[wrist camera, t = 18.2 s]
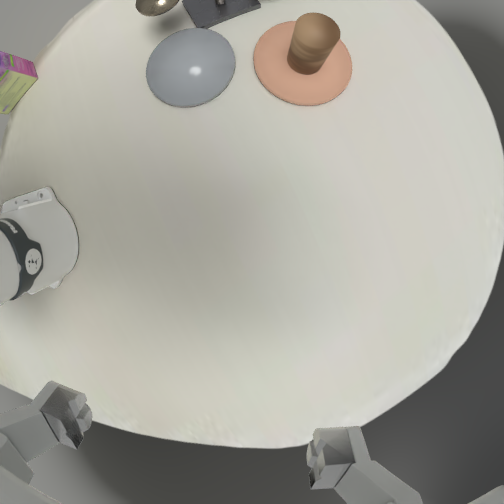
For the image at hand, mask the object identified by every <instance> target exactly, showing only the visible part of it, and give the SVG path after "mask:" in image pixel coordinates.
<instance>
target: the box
mask: <svg viewBox="0 0 504 504" xmlns="http://www.w3.org/2000/svg"><path fill="white" fill-rule="evenodd" d="M37 79H38V77H37V74H36V70H35V67H34V64H33V62H31V61H28V60H25V59H22V58H20V57H17V56H14V55H11V54H8V53H4V52H1V51H0V114H9V113H10V111H11V110H12V109H13V107H14V106H15V105H16V103H17V102H18V101H19V100H20V98H21V97H22V96H23V95H24V94H25V92H26V91H27V90H28V89H29V88H30V87H31V85H32V84H33V83H34V82H35V81H36V80H37Z"/></svg>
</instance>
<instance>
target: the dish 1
mask: <svg viewBox="0 0 504 504" xmlns="http://www.w3.org/2000/svg"><path fill="white" fill-rule="evenodd" d="M234 71H235V56H234V52H233V49H232V47H231V45H230V44H229V42H228V41H227V40H226V39H225V38H224V37H223V36H222V35H220V34H219V33H217V32H215V31H212V30H209V29H203V28H191V29H185V30H182V31H179V32H176V33H174V34H172V35H170V36H169V37H167V38H166V39H164V40H163V41H162V42H161V43H160V44H159V45H158V46H157V47H156V48H155V50H154V51H153V52H152V54H151V56H150V58H149V61H148V64H147V68H146V78H147V83H148V85H149V87H150V89H151V91H152V92H153V93H154V95H156V96H157V97H158V98H159V99H161V100H162V101H164V102H165V103H167V104H170V105H173V106H177V107H193V106H198V105H201V104H204V103H206V102H209V101H210V100H212V99H214V98H215V97H217V96H218V95H219V94H220V93H222V92H223V91H224V89H225V88H226V87H227V86H228V84H229V83H230V81H231V79H232V77H233V74H234Z"/></svg>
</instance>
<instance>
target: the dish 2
mask: <svg viewBox="0 0 504 504" xmlns="http://www.w3.org/2000/svg"><path fill="white" fill-rule="evenodd" d="M295 24H296V21H290V22H284V23H281V24H278V25H276V26H274V27H272V28H270V29H269V30H267V31H266V32H265V33H264V34H263V35H262V36H261V38H260V39H259V41H258V42H257V44H256V47H255V51H254V67H255V71H256V74H257V76H258V78H259V80H260V81H261V83H262V84H263V85H264V87H265V88H266V89H267V90H268V91H269V92H271V93H272V94H273V95H275V96H276V97H278V98H280V99H281V100H284V101H286V102H289V103H292V104H296V105H303V106H314V105H320V104H323V103H326V102H328V101H331V100H332V99H334V98H335V97H337V96H338V95H339V94H340V93H341V92H342V91H343V90H344V89H345V88H346V86H347V85H348V83H349V81H350V78H351V74H352V61H351V57H350V54H349V52H348V50H347V48H346V46H345V45H344V43H343V42H342V41H341V40H340V39H339V41H338V42H337V44H336V45H335V47H334V48H333V50H332V51H331V53H330V54H329V56H328V58H327V59H326V61H325V62H324V64H323V65H322V67H321V68H320V70H319V71H318V72H316V73H314V74H311V75H303V74H300V73H297V72H295V71H294V70H293V69H292V68H291V67H290V66H289V64H288V61H287V55H288V51H289V47H290V43H291V39H292V35H293V31H294V27H295Z"/></svg>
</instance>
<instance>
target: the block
mask: <svg viewBox="0 0 504 504" xmlns="http://www.w3.org/2000/svg"><path fill="white" fill-rule="evenodd" d="M339 39H340V29H339V27H338V25H337V24H336V23H335V21H333V20H332V19H331V18H330V17H328V16H326V15H323V14H320V13H307V14H304V15H302V16H301V17H299V18H298V19H297V21H296V24H295V27H294V31H293V35H292V39H291V43H290V47H289V51H288V55H287V61H288V64H289V66H290V67H291V68H292V69H293V70H294V71H295V72H297V73H300V74H303V75H311V74H314V73H316V72H318V71H319V70H320V68H321V67H322V65H323V64H324V62H325V61H326V59H327V58H328V56H329V54H330V53H331V51H332V50H333V48H334V47H335V45H336V44H337V42H338V41H339Z"/></svg>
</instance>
